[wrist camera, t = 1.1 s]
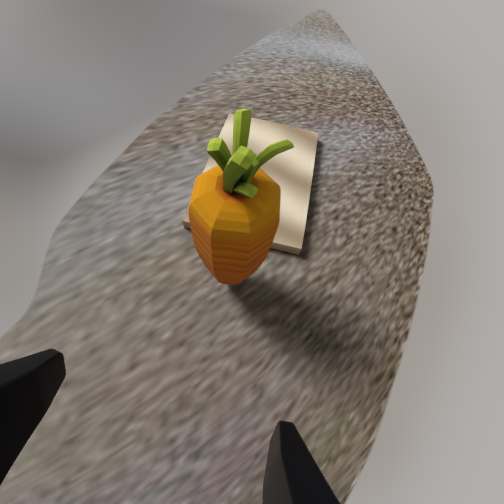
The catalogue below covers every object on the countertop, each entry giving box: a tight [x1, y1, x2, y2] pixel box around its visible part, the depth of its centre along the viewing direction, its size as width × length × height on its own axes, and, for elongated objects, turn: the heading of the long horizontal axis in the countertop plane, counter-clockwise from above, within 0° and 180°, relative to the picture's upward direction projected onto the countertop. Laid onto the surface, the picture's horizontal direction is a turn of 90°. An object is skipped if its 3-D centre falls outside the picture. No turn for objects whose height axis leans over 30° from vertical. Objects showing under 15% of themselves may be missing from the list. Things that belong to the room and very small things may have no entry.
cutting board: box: [183, 114, 318, 255], centre depth 30 cm, size 15×10×1 cm, turn 168°
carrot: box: [188, 109, 294, 285], centre depth 18 cm, size 5×5×15 cm
